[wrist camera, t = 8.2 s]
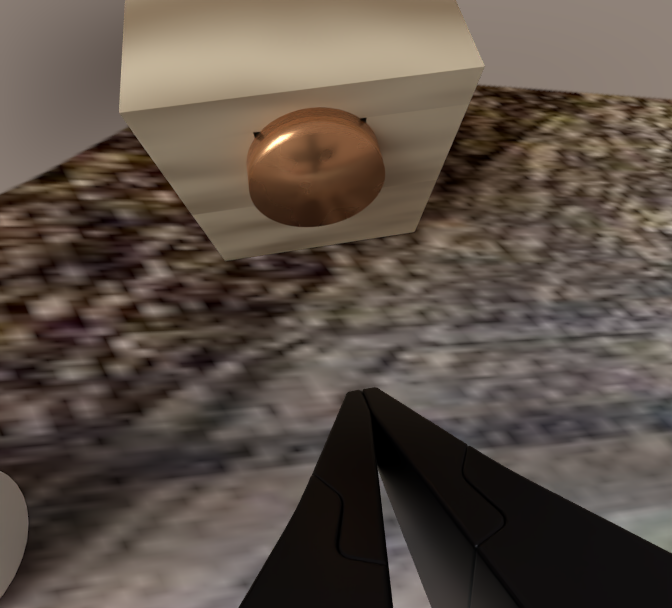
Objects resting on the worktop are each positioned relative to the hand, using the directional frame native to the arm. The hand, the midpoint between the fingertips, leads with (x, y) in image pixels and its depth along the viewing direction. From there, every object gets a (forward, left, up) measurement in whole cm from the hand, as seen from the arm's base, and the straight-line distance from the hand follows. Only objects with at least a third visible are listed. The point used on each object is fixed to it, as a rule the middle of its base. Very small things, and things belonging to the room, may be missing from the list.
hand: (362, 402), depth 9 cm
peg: (+9, -10, -5) cm, 14 cm away
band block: (+9, -11, -9) cm, 16 cm away
